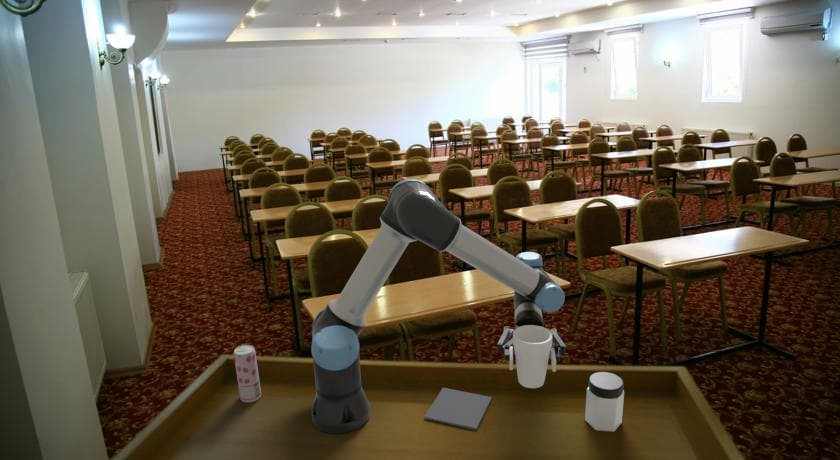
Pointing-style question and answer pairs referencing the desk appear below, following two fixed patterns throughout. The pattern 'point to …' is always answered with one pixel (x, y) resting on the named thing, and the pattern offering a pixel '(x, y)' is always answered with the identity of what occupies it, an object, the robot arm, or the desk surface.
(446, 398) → the charcoal mat
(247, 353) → the beverage can
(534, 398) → the desk surface
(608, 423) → the jar
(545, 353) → the foam cup
